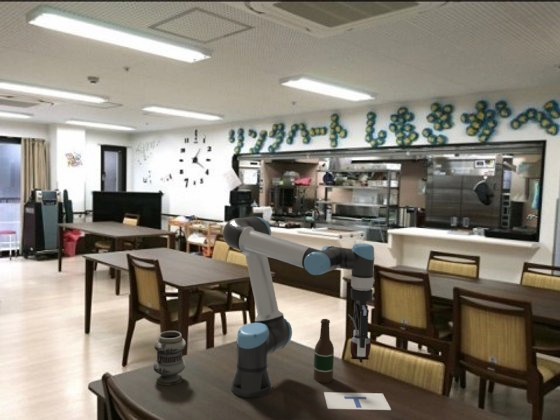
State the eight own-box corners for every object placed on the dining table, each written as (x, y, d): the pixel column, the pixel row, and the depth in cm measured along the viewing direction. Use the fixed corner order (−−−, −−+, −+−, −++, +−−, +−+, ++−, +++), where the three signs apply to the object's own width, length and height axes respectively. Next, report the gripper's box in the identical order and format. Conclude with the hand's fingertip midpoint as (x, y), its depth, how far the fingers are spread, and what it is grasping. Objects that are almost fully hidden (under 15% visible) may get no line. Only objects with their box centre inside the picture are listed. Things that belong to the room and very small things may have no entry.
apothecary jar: (161, 389, 167) (162, 341, 166) (148, 378, 176) (148, 332, 175) (190, 381, 175) (191, 335, 174) (176, 370, 184) (177, 327, 183)
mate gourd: (371, 363, 158) (373, 320, 156) (348, 362, 158) (350, 320, 157) (367, 355, 165) (369, 314, 164) (346, 354, 165) (347, 313, 164)
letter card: (327, 409, 157) (327, 408, 157) (323, 392, 169) (323, 392, 169) (391, 410, 157) (391, 409, 157) (382, 394, 169) (382, 393, 169)
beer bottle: (320, 373, 186) (322, 315, 184) (336, 378, 181) (339, 319, 179) (309, 379, 180) (311, 319, 178) (325, 385, 175) (328, 324, 173)
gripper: (379, 295, 150) (376, 363, 151) (366, 281, 169) (363, 342, 171) (356, 294, 149) (353, 362, 151) (346, 281, 169) (344, 341, 171)
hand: (359, 351), depth 161 cm, fingers closed on mate gourd, 7 cm apart
